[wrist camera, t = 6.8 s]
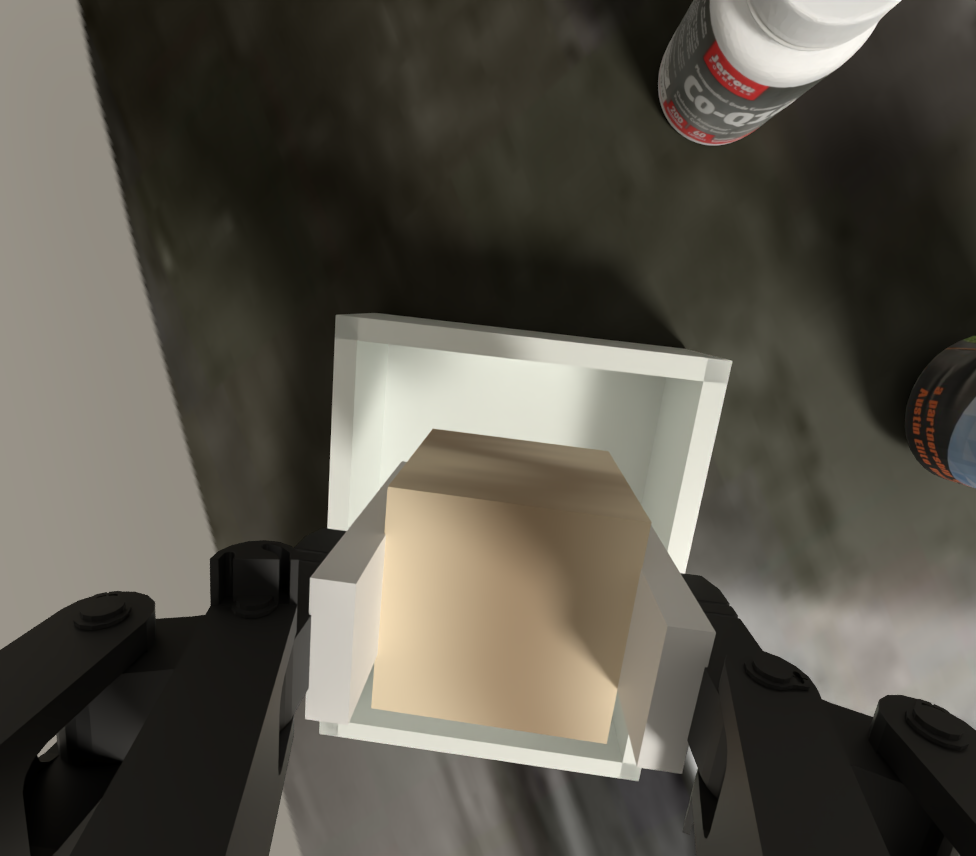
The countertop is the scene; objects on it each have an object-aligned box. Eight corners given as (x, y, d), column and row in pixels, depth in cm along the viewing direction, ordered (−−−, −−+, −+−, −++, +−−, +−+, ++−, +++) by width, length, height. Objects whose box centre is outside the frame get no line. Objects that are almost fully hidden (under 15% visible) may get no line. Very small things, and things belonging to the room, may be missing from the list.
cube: (418, 585, 16) (371, 708, 11) (432, 428, 15) (387, 486, 10) (580, 608, 16) (606, 744, 11) (608, 451, 14) (651, 522, 10)
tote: (375, 313, 23) (335, 314, 18) (686, 348, 22) (732, 360, 17) (356, 656, 27) (319, 733, 22) (616, 693, 26) (638, 781, 21)
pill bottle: (643, 138, 20) (723, 27, 12) (671, 0, 19) (780, -221, 11) (762, 156, 20) (923, 57, 12) (798, 19, 19) (1001, -192, 11)
